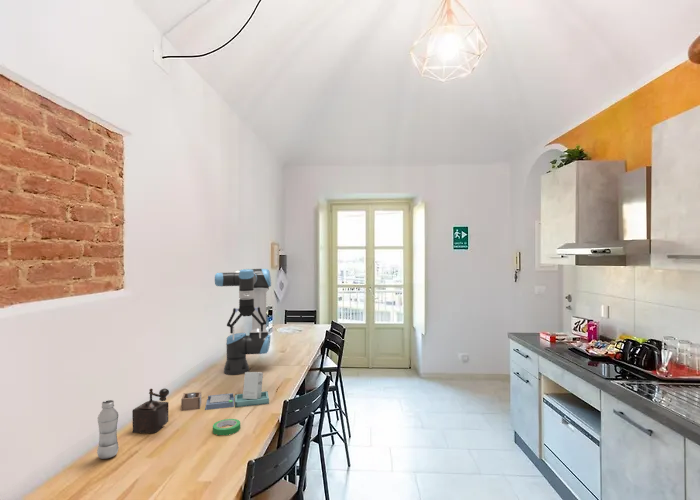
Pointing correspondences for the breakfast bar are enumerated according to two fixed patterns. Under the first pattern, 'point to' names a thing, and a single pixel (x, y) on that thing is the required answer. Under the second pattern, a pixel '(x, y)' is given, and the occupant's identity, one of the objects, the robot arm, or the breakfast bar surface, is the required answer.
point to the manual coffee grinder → (151, 414)
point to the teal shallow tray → (251, 400)
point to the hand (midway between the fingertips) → (246, 338)
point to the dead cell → (191, 395)
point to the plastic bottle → (107, 431)
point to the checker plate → (220, 398)
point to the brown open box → (191, 402)
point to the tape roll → (228, 430)
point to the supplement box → (252, 385)
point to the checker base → (219, 405)
